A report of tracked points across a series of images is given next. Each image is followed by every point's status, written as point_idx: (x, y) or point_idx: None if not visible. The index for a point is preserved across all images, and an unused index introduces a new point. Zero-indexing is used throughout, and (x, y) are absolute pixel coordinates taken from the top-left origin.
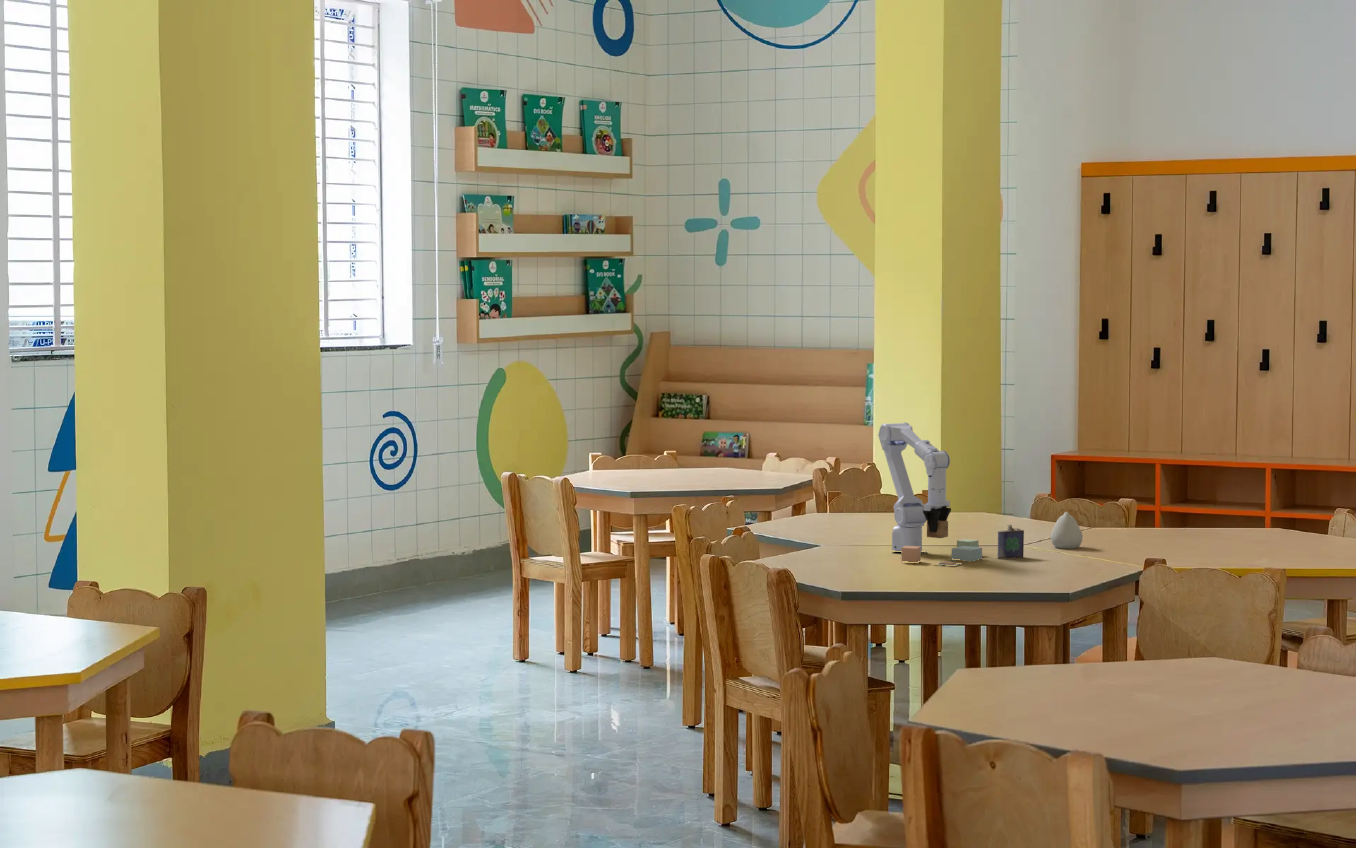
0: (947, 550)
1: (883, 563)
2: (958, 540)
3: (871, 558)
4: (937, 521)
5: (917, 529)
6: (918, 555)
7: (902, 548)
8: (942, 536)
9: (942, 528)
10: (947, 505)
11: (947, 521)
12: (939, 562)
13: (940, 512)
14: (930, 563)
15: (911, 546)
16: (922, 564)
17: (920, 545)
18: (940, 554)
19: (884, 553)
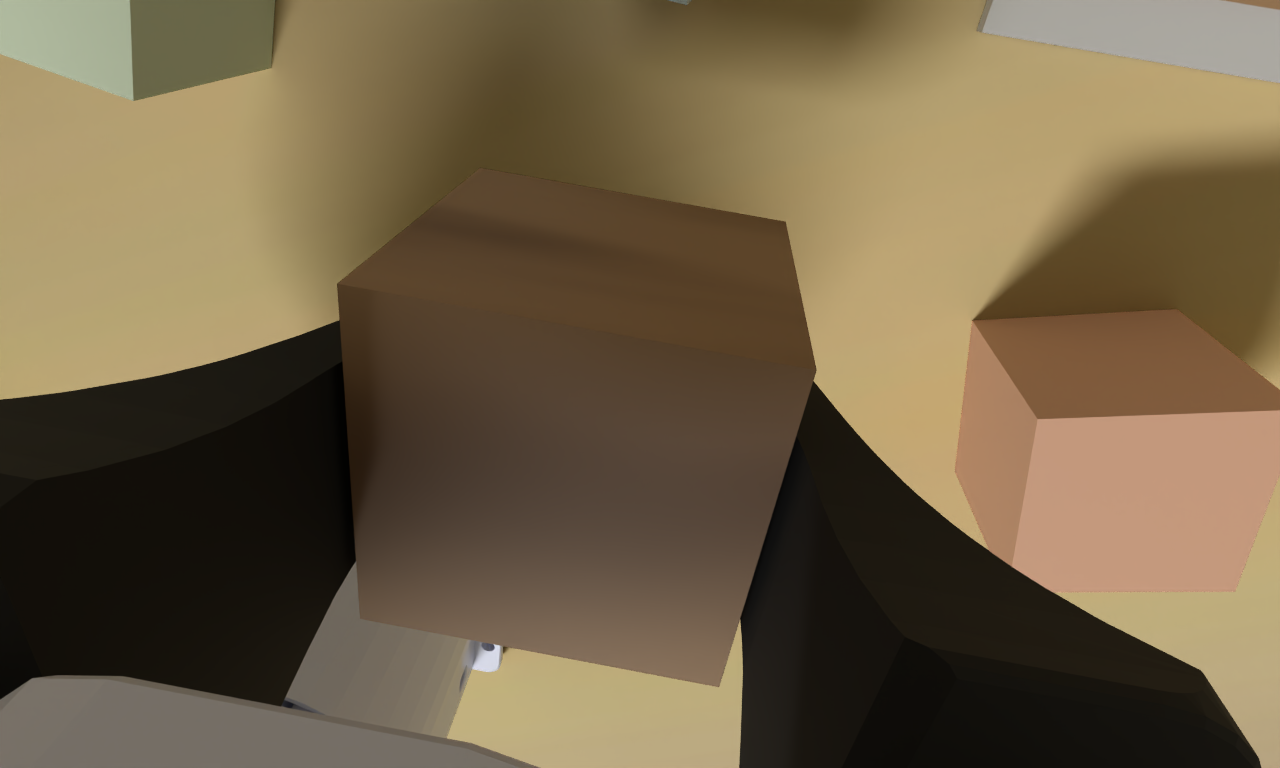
0: (19, 288)
1: (1163, 599)
2: (115, 72)
3: None
4: (842, 478)
5: (328, 686)
6: (1144, 357)
7: (1235, 576)
8: (721, 218)
9: (715, 281)
10: (470, 750)
11: (379, 288)
12: (1131, 46)
13: (935, 634)
14: (1091, 176)
15: (1065, 519)
16: (1200, 244)
17: None
18: (320, 275)
19: (543, 690)
